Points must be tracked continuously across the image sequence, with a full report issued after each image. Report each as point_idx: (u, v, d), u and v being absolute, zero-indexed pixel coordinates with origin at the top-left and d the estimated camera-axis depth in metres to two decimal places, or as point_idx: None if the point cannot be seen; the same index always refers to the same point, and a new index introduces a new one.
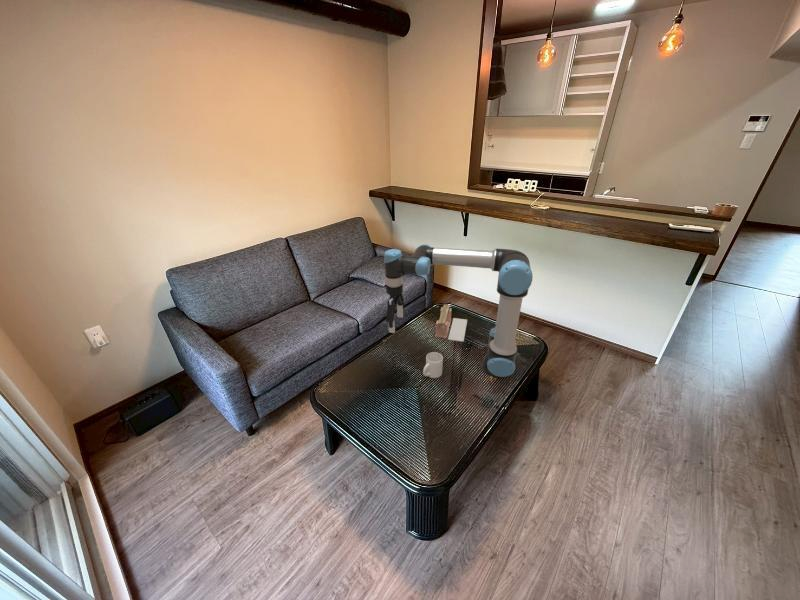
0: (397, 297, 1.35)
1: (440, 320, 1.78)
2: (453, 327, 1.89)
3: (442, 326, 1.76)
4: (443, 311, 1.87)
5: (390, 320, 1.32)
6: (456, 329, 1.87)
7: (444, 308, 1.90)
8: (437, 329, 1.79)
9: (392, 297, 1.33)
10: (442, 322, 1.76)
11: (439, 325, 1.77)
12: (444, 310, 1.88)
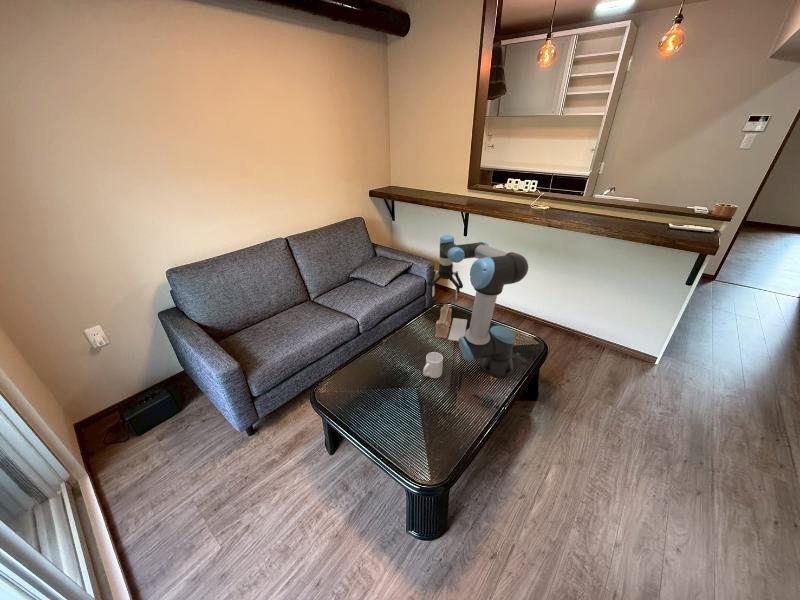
0: (442, 273, 1.71)
1: (440, 320, 1.78)
2: (453, 327, 1.89)
3: (442, 326, 1.76)
4: (443, 311, 1.87)
5: (428, 283, 1.77)
6: (456, 329, 1.87)
7: (444, 308, 1.90)
8: (437, 329, 1.79)
9: None
10: (442, 322, 1.76)
11: (439, 325, 1.77)
12: (444, 310, 1.88)
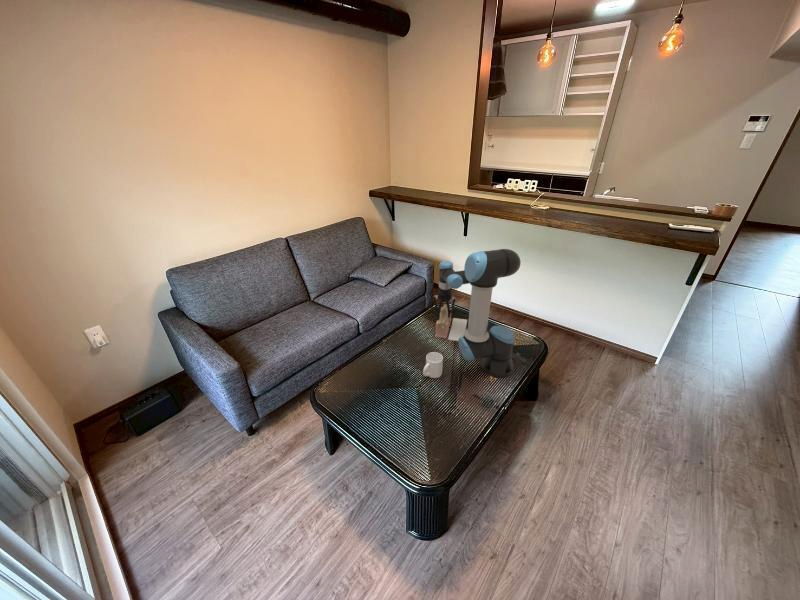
0: (441, 297, 1.78)
1: (440, 320, 1.78)
2: (453, 327, 1.89)
3: (442, 326, 1.76)
4: (443, 311, 1.87)
5: None
6: (456, 329, 1.87)
7: (444, 308, 1.90)
8: (437, 329, 1.79)
9: None
10: (442, 322, 1.76)
11: (439, 325, 1.77)
12: (444, 310, 1.88)
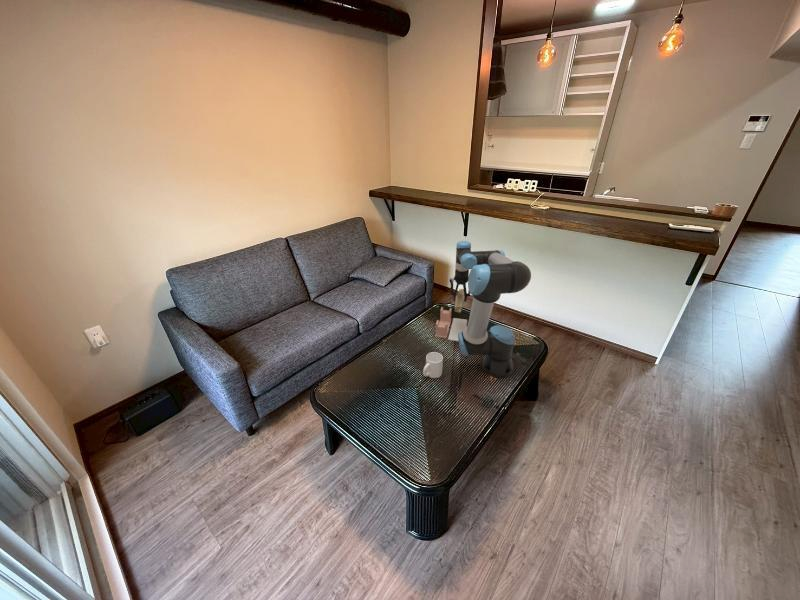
0: (458, 279, 1.70)
1: (457, 304, 1.70)
2: (453, 327, 1.89)
3: (459, 310, 1.68)
4: (459, 295, 1.79)
5: (451, 292, 1.76)
6: (456, 329, 1.87)
7: (460, 292, 1.82)
8: (437, 329, 1.79)
9: None
10: (459, 305, 1.68)
11: (456, 309, 1.68)
12: (460, 294, 1.80)
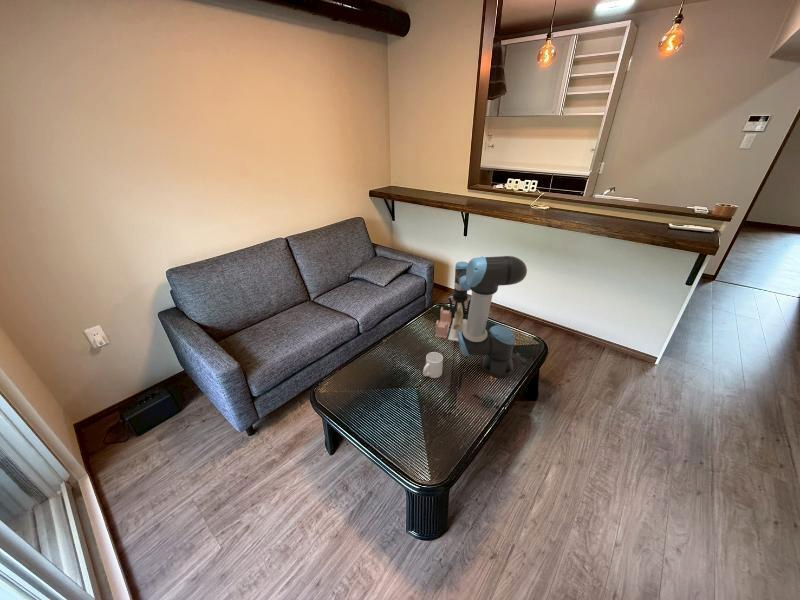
0: (457, 298, 1.75)
1: (456, 321, 1.76)
2: (453, 327, 1.89)
3: (458, 327, 1.74)
4: (458, 312, 1.85)
5: (450, 310, 1.82)
6: None
7: (458, 309, 1.88)
8: (437, 329, 1.79)
9: None
10: (458, 323, 1.74)
11: (455, 326, 1.74)
12: (459, 311, 1.86)
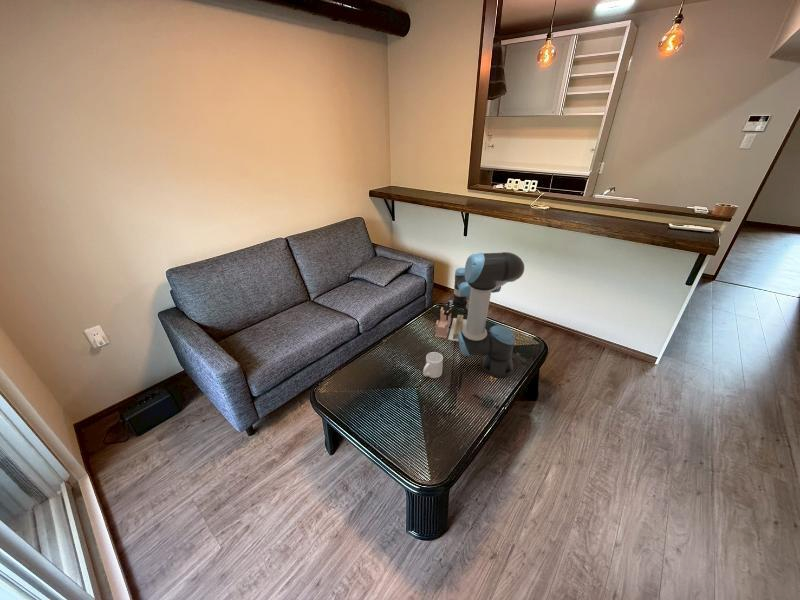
0: (457, 303, 1.77)
1: (455, 331, 1.79)
2: (453, 327, 1.89)
3: (457, 337, 1.77)
4: (457, 321, 1.88)
5: (444, 312, 1.84)
6: None
7: (458, 318, 1.91)
8: (437, 329, 1.79)
9: (453, 300, 1.79)
10: (457, 333, 1.77)
11: (454, 336, 1.77)
12: (458, 320, 1.89)
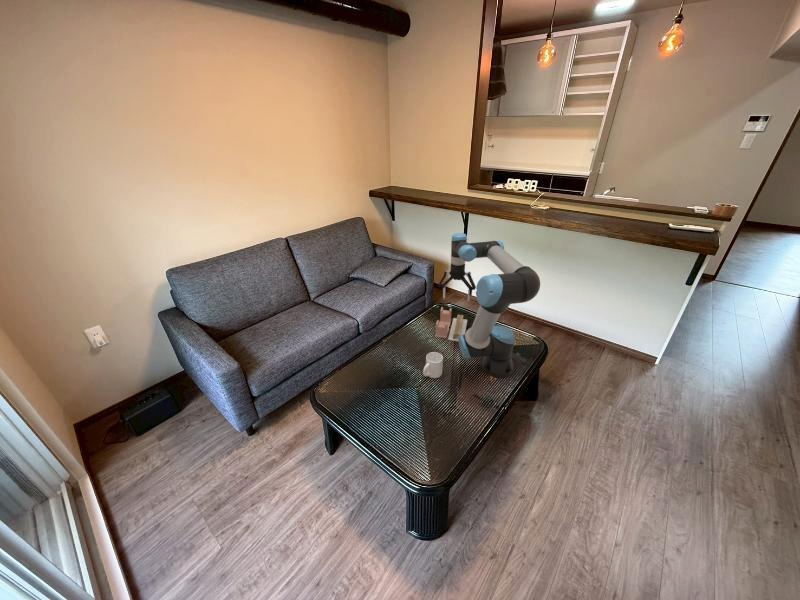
0: (454, 274, 1.61)
1: (455, 331, 1.79)
2: (453, 327, 1.89)
3: (457, 337, 1.77)
4: (457, 321, 1.88)
5: (438, 284, 1.68)
6: None
7: (458, 318, 1.91)
8: (437, 329, 1.79)
9: (450, 270, 1.63)
10: (457, 333, 1.77)
11: (454, 336, 1.77)
12: (458, 320, 1.89)
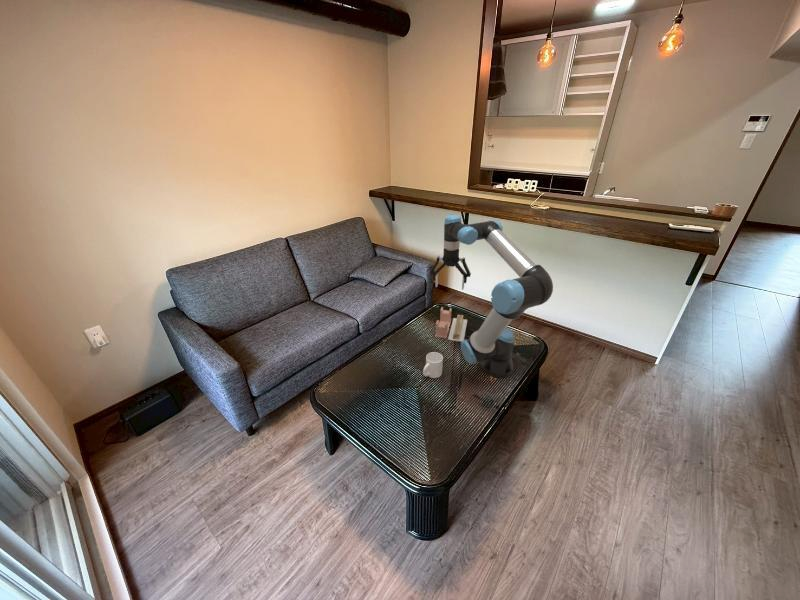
0: (447, 260, 1.49)
1: (455, 331, 1.79)
2: (453, 327, 1.89)
3: (457, 337, 1.77)
4: (457, 321, 1.88)
5: None
6: None
7: (458, 318, 1.91)
8: (437, 329, 1.79)
9: (443, 256, 1.50)
10: (457, 333, 1.77)
11: (454, 336, 1.77)
12: (458, 320, 1.89)
